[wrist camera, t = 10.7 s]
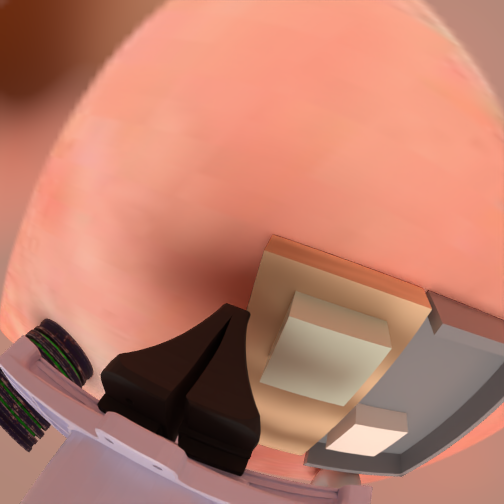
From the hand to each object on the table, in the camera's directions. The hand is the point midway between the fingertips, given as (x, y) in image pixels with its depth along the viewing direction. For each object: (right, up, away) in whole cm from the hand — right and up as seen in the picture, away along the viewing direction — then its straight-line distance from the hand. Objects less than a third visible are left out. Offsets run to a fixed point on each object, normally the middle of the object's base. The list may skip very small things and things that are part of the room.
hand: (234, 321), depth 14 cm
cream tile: (+11, -11, +5) cm, 16 cm away
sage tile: (+5, -1, 0) cm, 5 cm away
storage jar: (-23, -9, +15) cm, 29 cm away
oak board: (+4, -5, +4) cm, 8 cm away
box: (+14, -9, +3) cm, 17 cm away
